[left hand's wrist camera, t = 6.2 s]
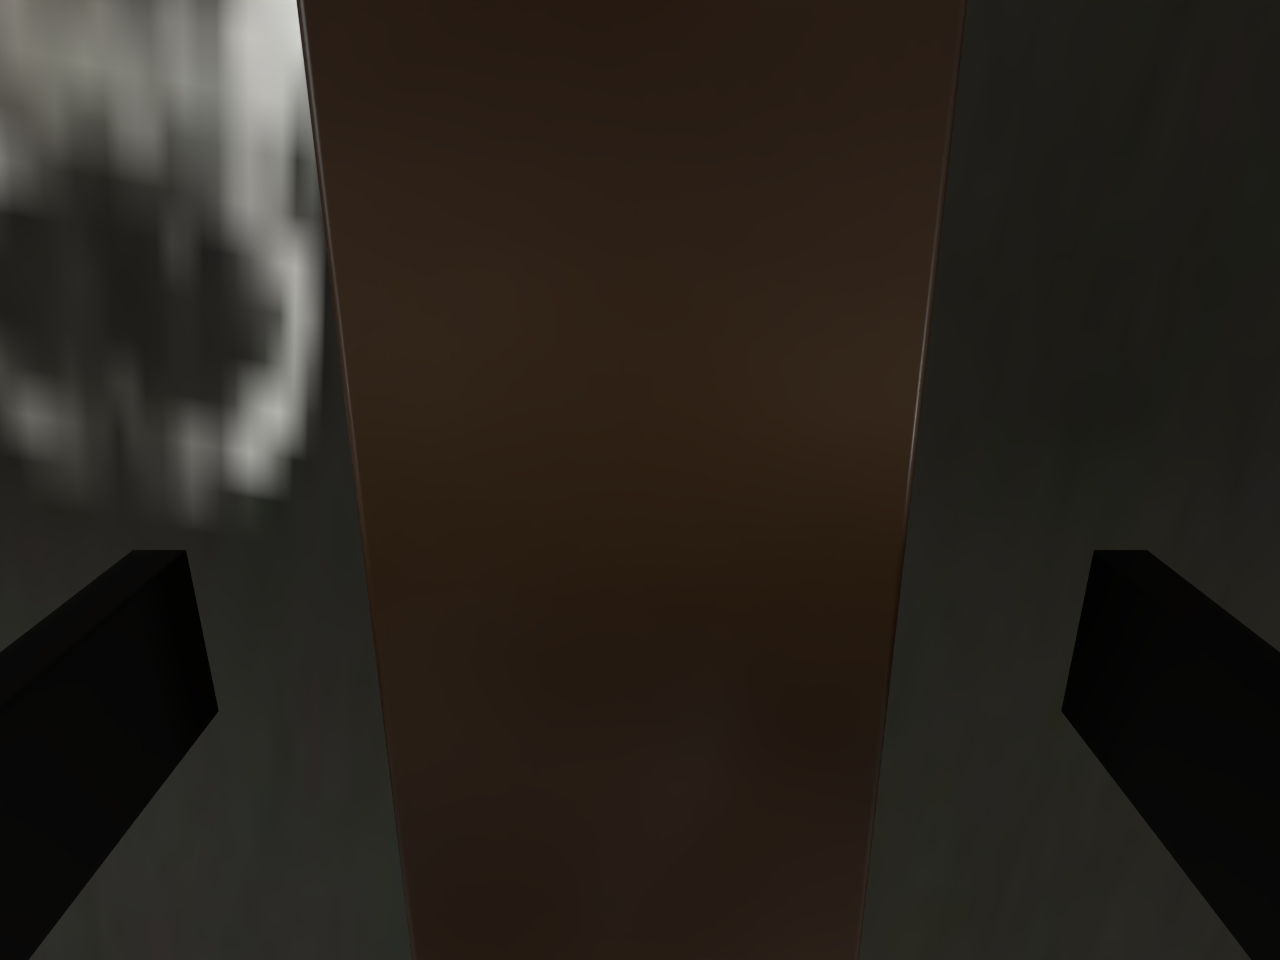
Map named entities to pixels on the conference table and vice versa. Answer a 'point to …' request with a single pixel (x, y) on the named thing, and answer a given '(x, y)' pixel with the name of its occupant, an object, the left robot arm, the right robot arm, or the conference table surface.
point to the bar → (633, 447)
